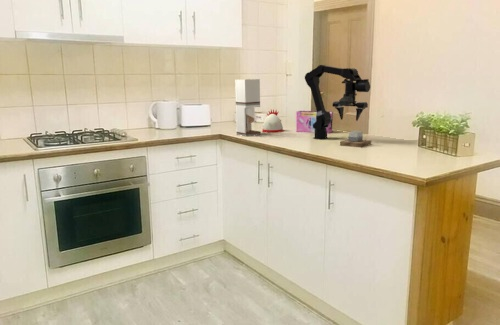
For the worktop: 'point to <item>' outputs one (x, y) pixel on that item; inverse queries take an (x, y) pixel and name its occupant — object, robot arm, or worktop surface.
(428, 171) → the worktop surface
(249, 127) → the coffee grinder
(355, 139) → the block
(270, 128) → the white dome
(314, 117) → the gum box
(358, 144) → the walnut stand
